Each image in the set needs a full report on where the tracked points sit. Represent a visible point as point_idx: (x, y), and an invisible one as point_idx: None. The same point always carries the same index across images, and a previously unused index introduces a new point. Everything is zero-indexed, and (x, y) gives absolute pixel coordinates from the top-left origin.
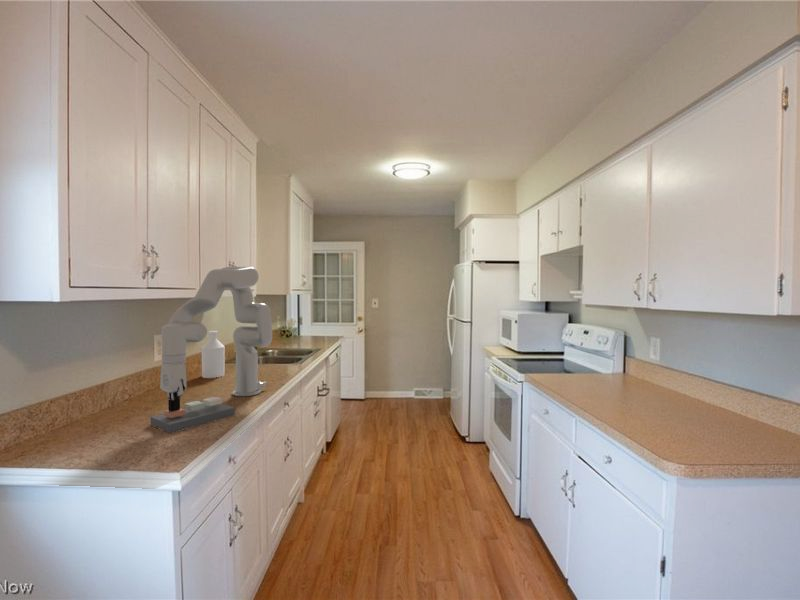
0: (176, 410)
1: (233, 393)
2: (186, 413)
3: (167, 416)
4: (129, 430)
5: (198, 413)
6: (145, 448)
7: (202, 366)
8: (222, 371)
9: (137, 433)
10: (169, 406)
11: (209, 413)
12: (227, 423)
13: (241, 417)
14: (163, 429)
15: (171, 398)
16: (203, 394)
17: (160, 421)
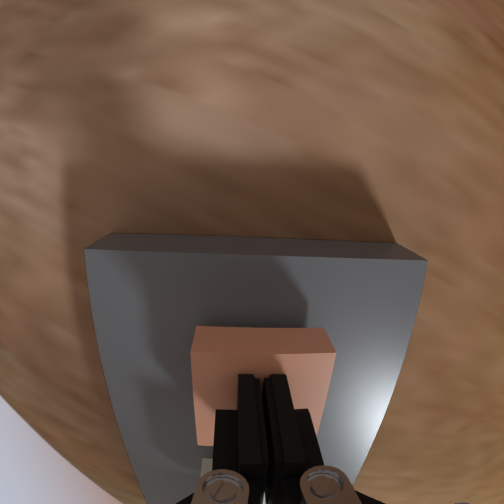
0: (231, 409)
1: None
2: None
3: (263, 328)
4: (410, 114)
5: (196, 461)
6: (15, 54)
7: None
8: None
9: (307, 103)
10: (274, 404)
11: (146, 476)
12: (76, 448)
13: (118, 496)
14: (198, 237)
15: (244, 491)
16: (477, 486)
17: (250, 253)
